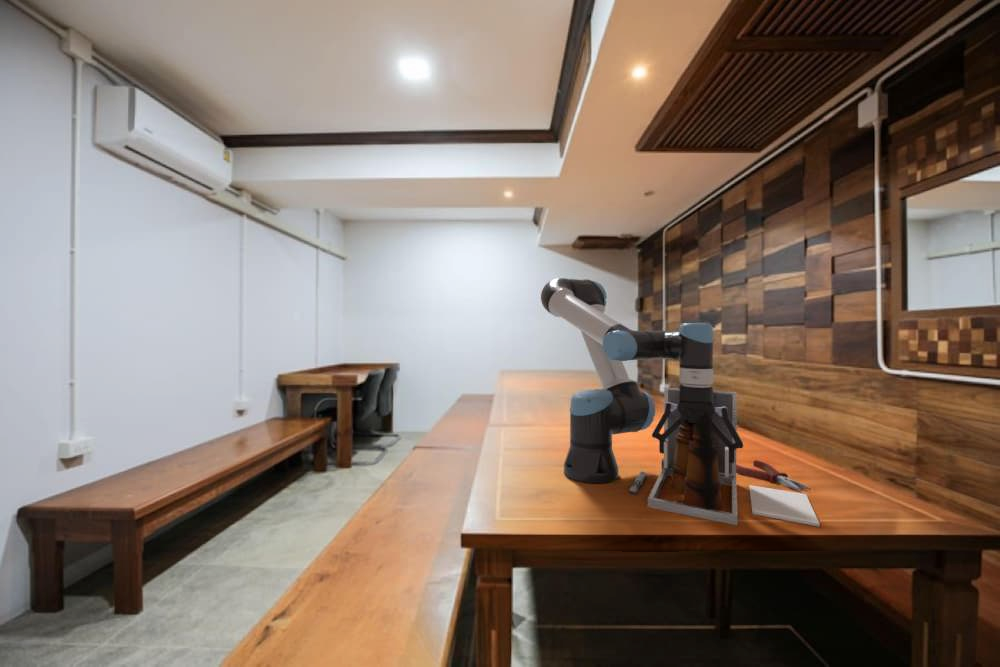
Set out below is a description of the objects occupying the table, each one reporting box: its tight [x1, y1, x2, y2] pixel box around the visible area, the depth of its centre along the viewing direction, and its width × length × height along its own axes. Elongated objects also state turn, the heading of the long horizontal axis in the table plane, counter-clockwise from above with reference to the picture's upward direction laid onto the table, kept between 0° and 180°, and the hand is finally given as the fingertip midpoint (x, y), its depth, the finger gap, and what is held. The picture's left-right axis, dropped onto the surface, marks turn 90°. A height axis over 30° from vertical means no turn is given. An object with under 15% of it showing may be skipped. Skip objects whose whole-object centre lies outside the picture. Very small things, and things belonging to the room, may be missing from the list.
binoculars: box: [670, 420, 723, 511], centre depth 102 cm, size 18×8×20 cm, turn 174°
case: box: [647, 387, 738, 526], centre depth 103 cm, size 18×27×24 cm
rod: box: [628, 471, 647, 496], centre depth 109 cm, size 2×14×2 cm, turn 151°
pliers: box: [736, 459, 812, 492], centre depth 114 cm, size 12×20×3 cm, turn 15°
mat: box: [748, 484, 821, 527], centre depth 97 cm, size 12×18×1 cm, turn 151°
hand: (695, 471), depth 102 cm, fingers open, 13 cm apart
